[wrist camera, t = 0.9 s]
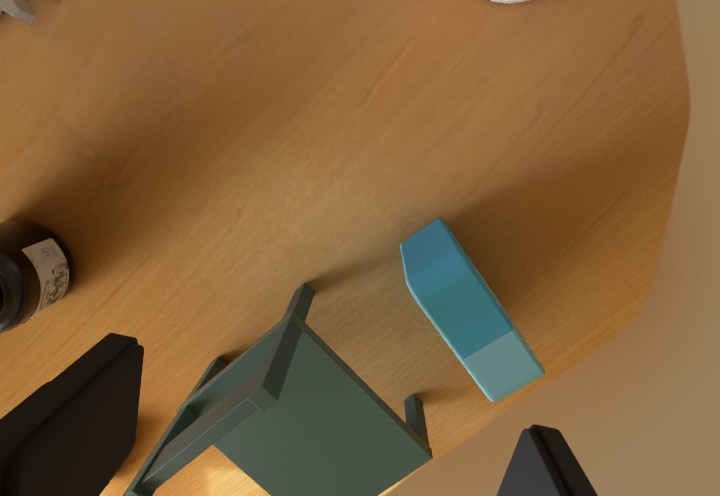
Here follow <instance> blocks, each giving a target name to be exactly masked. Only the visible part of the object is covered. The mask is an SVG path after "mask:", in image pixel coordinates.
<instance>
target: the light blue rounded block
mask: <svg viewBox="0 0 720 496" xmlns="http://www.w3.org/2000/svg"><path fill="white" fill-rule="evenodd" d="M400 249H401V255H402V261H403V267H404V273H405V279H406V284H407V286H408V288H409V290H410V292H411V294H412V296H413V297H414V299H415V300H416V302H417V303H418V305H419V306H420V307H421V309H422V310H423V312H424V313H425V314H426V316H427V317H428V318H429V320H430V321H431V322H432V324H433V325H434V326H435V328H436V329H437V330H438V332H439V333H440V334H441V336H442V337H443V338H444V340H445V341H446V342H447V344H448V345H449V346H450V348H451V349H452V351H453V352H454V353H455V355H456V356H457V357H458V359H459V360H460V361H461V363H462V364H463V365H464V367H465V368H466V369H467V371H468V372H469V373H470V375H471V376H472V377H473V379H474V380H475V381H476V383H477V384H478V385H479V387H480V388H481V389H482V391H483V392H484V394H485V395H486V396H487V397H488V399H489V400H491V401H492V402H497V401H499V400H500V399H502V398H504V397H506V396H508V395H509V394H511V393H513V392H515V391H517V390H518V389H520V388H522V387H524V386H525V385H527V384H529V383H531V382H533V381H534V380H536V379H538V378H540V377H542V376H543V375H544V374H545V370H544V368H543V367H542V365H541V364H540V362H539V361H538V359H537V358H536V356H535V355H534V353H533V351H532V350H531V348H530V347H529V345H528V344H527V342H526V341H525V339H524V338H523V336H522V334H521V333H520V331H519V330H518V328H517V327H516V325H515V324H514V322H513V321H512V319H511V318H510V316H509V314H508V313H507V311H506V310H505V308H504V307H503V306H502V304H501V303H500V301H499V300H498V298H497V297H496V295H495V294H494V292H493V291H492V290H491V288H490V287H489V285H488V284H487V282H486V281H485V279H484V278H483V277H482V275H481V274H480V272H479V271H478V269H477V268H476V266H475V265H474V263H473V262H472V261H471V259H470V258H469V256H468V255H467V253H466V252H465V250H464V249H463V248H462V246H461V245H460V243H459V242H458V240H457V239H456V237H455V236H454V235H453V233H452V232H451V230H450V229H449V227H448V226H447V224H446V223H445V222H444V220H443V219H442V218H438V219H436V220H435V221H433V222H432V223H430V224H429V225H427V226H426V227H424V228H423V229H421V230H420V231H418V232H417V233H416V234H414V235H413V236H411V237H410V238H408V239H407V240H405V241H404V242H402V243H401V244H400Z"/></svg>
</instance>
